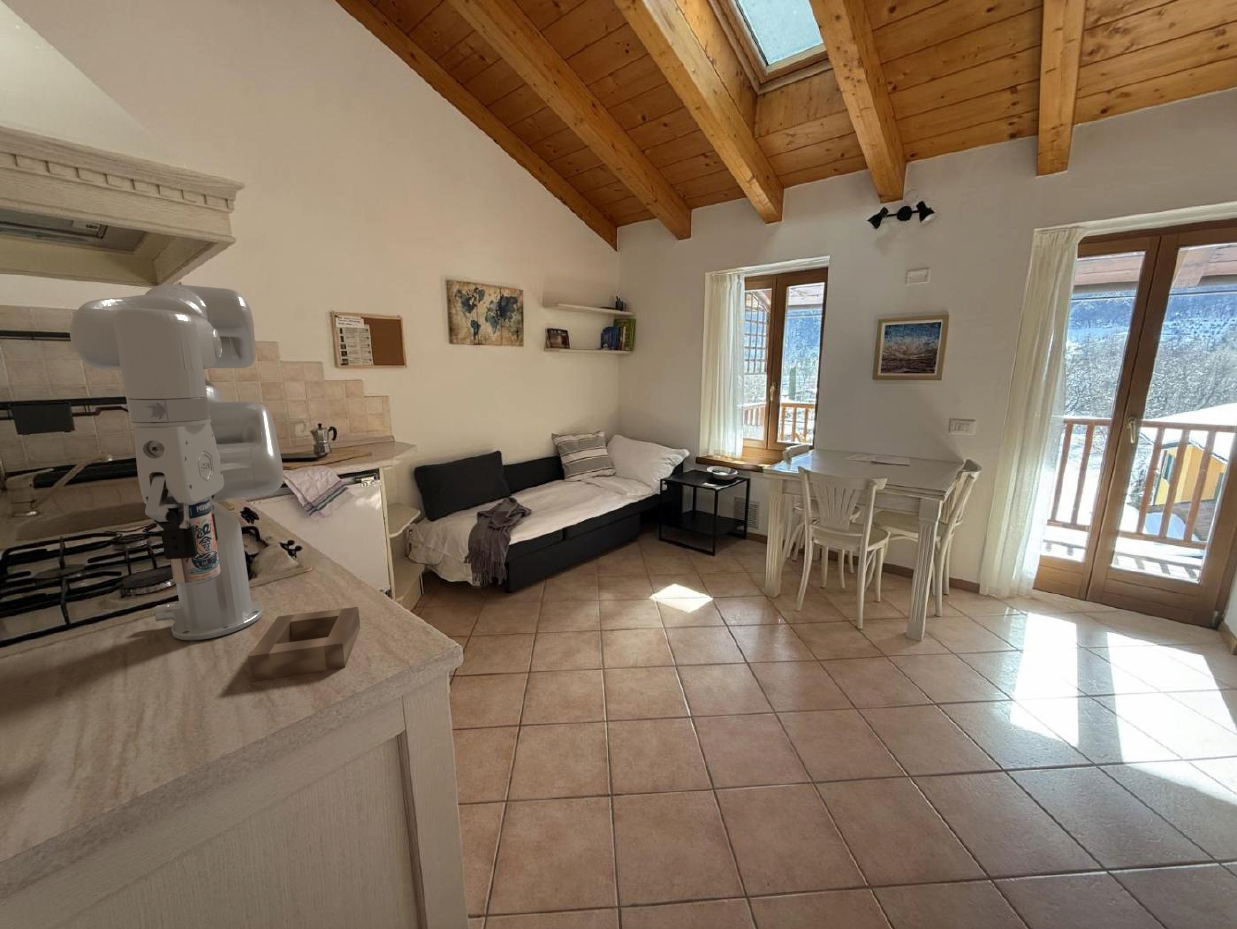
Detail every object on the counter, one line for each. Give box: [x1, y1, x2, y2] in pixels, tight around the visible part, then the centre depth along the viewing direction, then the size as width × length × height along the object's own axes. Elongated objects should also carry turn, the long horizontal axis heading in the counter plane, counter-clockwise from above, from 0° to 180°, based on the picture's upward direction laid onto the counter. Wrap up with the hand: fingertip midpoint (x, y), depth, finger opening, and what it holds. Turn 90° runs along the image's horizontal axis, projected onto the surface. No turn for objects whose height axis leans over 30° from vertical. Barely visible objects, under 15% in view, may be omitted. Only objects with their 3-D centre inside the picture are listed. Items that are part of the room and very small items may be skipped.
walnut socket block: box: [248, 606, 361, 682], centre depth 78 cm, size 12×12×4 cm
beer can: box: [166, 497, 220, 585], centre depth 65 cm, size 5×5×12 cm
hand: (193, 548), depth 65 cm, fingers closed on beer can, 4 cm apart
